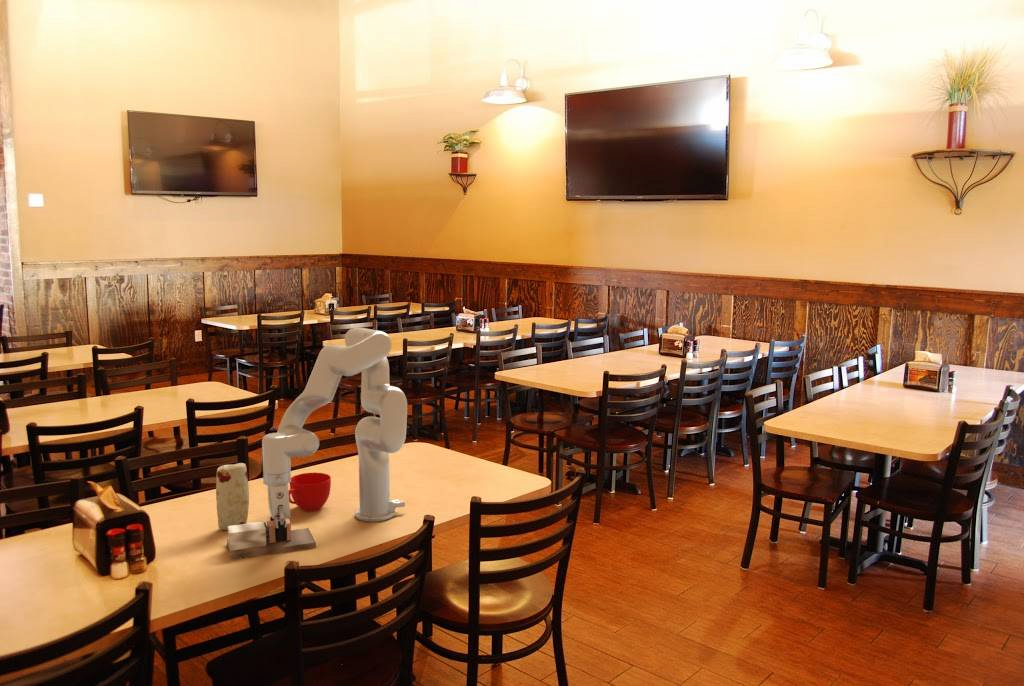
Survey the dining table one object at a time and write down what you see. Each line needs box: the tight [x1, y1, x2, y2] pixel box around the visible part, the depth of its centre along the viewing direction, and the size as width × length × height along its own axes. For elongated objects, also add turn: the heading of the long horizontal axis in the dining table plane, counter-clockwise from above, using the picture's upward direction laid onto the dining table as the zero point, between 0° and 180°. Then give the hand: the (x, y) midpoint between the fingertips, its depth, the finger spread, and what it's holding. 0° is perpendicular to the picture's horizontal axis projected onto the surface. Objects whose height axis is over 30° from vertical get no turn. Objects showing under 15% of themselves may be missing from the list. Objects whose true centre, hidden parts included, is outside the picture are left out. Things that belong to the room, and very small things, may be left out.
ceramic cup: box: [288, 472, 332, 512], centre depth 261 cm, size 13×17×10 cm
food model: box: [215, 462, 250, 531], centre depth 244 cm, size 10×7×20 cm
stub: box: [266, 517, 292, 543], centre depth 232 cm, size 6×4×5 cm, turn 114°
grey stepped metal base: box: [226, 521, 317, 561], centre depth 232 cm, size 23×12×6 cm, turn 114°
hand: (278, 535), depth 232 cm, fingers open, 9 cm apart
